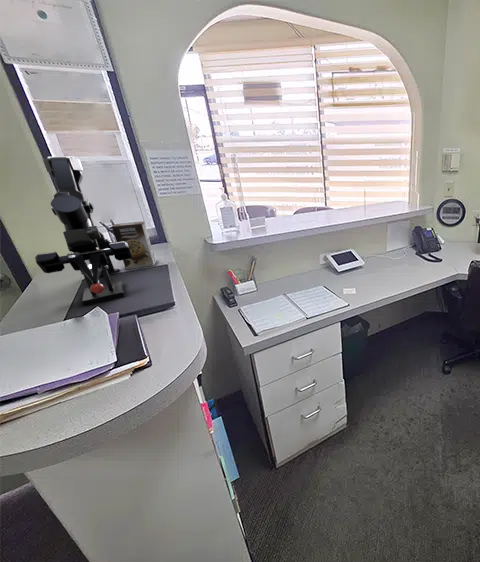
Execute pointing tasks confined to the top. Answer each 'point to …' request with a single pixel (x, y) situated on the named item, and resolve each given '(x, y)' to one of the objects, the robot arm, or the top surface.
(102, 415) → the top surface
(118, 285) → the black lever stand
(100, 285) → the lever
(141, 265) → the cookie box
